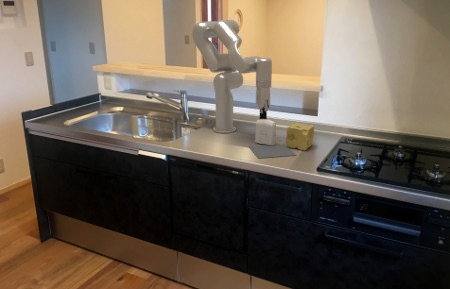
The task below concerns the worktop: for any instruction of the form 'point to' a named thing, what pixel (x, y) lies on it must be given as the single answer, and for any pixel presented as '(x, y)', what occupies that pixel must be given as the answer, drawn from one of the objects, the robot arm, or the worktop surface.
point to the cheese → (299, 136)
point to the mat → (271, 151)
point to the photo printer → (265, 132)
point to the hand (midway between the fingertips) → (263, 120)
